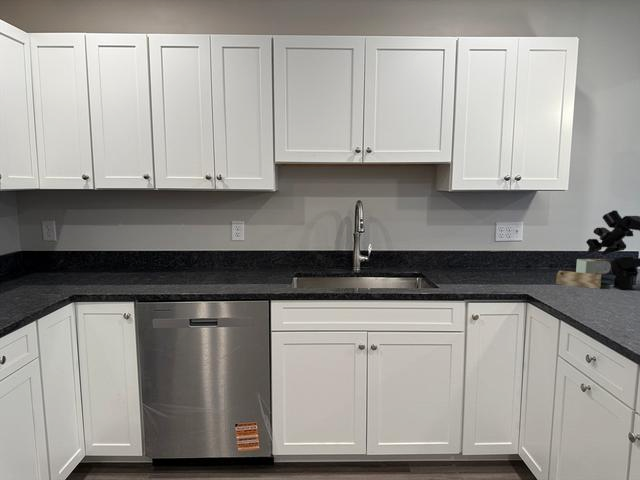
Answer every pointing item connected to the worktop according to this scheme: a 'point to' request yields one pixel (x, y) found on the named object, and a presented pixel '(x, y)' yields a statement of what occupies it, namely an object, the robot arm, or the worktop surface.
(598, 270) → the tin
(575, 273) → the wooden board
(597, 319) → the worktop surface
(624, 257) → the robot arm
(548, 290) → the worktop surface
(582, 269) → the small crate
